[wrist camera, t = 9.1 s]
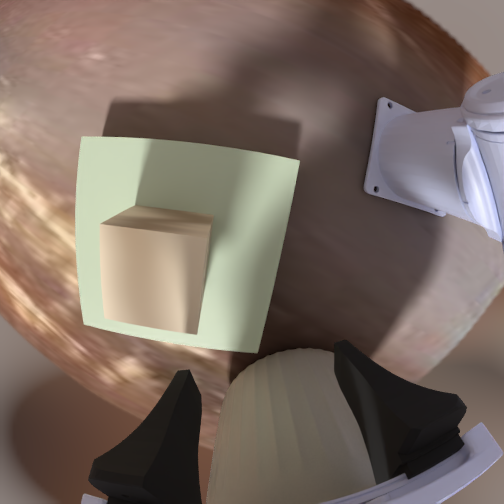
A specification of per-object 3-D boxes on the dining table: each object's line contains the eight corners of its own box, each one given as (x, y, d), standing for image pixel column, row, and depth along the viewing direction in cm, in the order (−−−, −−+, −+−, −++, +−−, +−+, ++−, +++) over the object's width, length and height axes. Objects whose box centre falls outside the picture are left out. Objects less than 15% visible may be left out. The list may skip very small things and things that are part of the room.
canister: (328, 276, 21) (492, 521, 2) (387, 382, 27) (462, 515, 7) (163, 374, 24) (130, 579, 4) (263, 445, 29) (283, 579, 9)
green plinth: (289, 160, 18) (300, 160, 15) (254, 331, 22) (257, 353, 20) (101, 139, 16) (81, 136, 14) (97, 306, 21) (83, 324, 18)
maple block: (213, 214, 16) (207, 238, 11) (204, 289, 18) (197, 335, 13) (134, 205, 15) (99, 223, 11) (132, 278, 17) (104, 318, 12)
